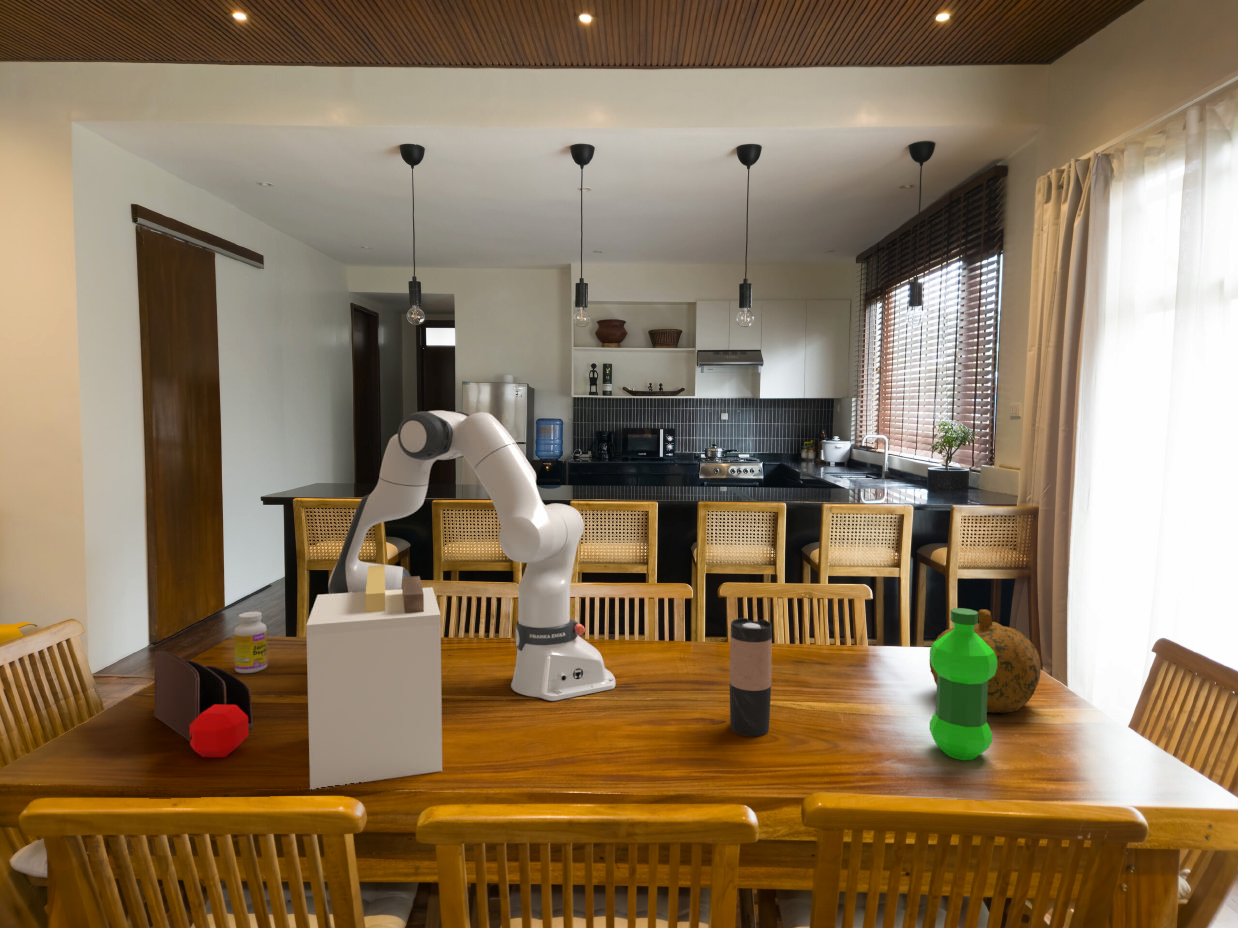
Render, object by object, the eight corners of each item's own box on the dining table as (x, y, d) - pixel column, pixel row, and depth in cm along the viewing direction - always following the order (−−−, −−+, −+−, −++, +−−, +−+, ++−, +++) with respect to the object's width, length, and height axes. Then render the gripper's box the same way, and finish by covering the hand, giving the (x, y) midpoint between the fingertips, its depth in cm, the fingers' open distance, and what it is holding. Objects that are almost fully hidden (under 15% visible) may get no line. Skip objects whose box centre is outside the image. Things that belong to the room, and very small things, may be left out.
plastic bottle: (963, 772, 119) (969, 622, 117) (914, 745, 128) (918, 606, 127) (1006, 760, 123) (1012, 615, 121) (955, 735, 132) (960, 601, 131)
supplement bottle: (254, 675, 162) (252, 618, 161) (228, 673, 163) (226, 617, 163) (273, 665, 169) (272, 611, 168) (249, 663, 170) (247, 609, 169)
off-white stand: (434, 722, 137) (432, 587, 136) (442, 770, 118) (440, 614, 117) (320, 735, 131) (317, 594, 130) (310, 789, 112) (306, 624, 111)
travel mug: (745, 740, 130) (747, 631, 129) (720, 724, 137) (722, 620, 136) (779, 732, 134) (781, 625, 132) (753, 717, 140) (754, 615, 139)
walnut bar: (419, 592, 132) (419, 576, 132) (423, 611, 118) (423, 593, 118) (402, 593, 131) (402, 577, 131) (404, 613, 118) (404, 595, 117)
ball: (211, 741, 129) (209, 699, 129) (255, 742, 129) (254, 700, 128) (182, 762, 121) (181, 717, 121) (229, 763, 121) (228, 718, 120)
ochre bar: (384, 579, 142) (384, 564, 142) (385, 610, 119) (384, 592, 119) (368, 580, 141) (368, 565, 141) (365, 612, 118) (365, 594, 118)
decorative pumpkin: (1054, 695, 150) (1051, 601, 148) (1026, 736, 134) (1023, 632, 132) (952, 676, 163) (948, 589, 161) (917, 710, 148) (912, 616, 146)
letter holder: (196, 747, 127) (193, 669, 126) (153, 718, 139) (151, 646, 138) (254, 729, 135) (251, 654, 134) (209, 702, 147) (206, 634, 146)
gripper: (328, 601, 158) (323, 582, 147) (425, 594, 165) (427, 575, 153) (328, 630, 156) (323, 612, 144) (426, 622, 162) (429, 604, 150)
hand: (377, 593), depth 148 cm, fingers open, 8 cm apart
